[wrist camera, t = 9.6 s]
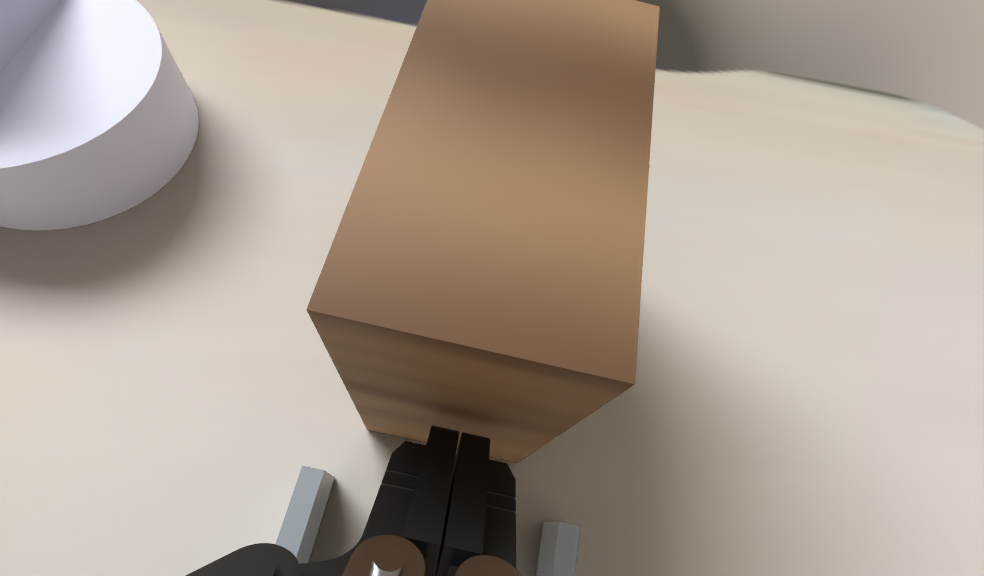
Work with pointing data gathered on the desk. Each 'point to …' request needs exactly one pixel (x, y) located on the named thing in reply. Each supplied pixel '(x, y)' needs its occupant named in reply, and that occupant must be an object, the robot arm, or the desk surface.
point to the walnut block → (498, 224)
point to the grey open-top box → (311, 504)
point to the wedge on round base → (86, 112)
